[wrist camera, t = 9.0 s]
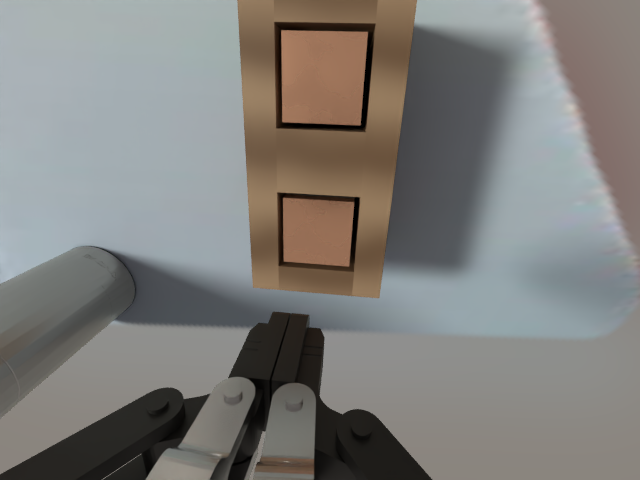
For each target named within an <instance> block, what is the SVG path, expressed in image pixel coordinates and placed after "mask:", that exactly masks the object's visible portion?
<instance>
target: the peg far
mask: <svg viewBox="0 0 640 480" xmlns="http://www.w3.org/2000/svg"><path fill="white" fill-rule="evenodd" d="M353 212H354V197H349V196H332V195H315V194H299V193H287V194H286V195H285V196H284V197H283V242H284V262H297V263H310V264H323V265H336V266H349V262H350V249H351V237H352V224H353Z"/></svg>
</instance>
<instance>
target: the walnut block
mask: <svg viewBox="0 0 640 480" xmlns="http://www.w3.org/2000/svg"><path fill="white" fill-rule="evenodd" d="M237 1H238V19H239V37H240V56H241V74H242V93H243V111H244V130H245V148H246V166H247V185H248V203H249V222H250V240H251V259H252V277H253V288H265V289H277V290H288V291H300V292H312V293H324V294H336V295H347V296H359V297H371V298H379V296H380V288H381V280H382V272H383V264H384V256H385V248H386V240H387V232H388V225H389V217H390V209H391V201H392V193H393V185H394V177H395V169H396V161H397V154H398V146H399V138H400V130H401V122H402V114H403V106H404V98H405V90H406V83H407V75H408V67H409V59H410V51H411V43H412V35H413V27H414V19H415V12H416V4H417V0H237ZM281 30H291V31H345V32H368V38H367V50H366V51H369V55H368V67H367V80H366V92H365V104H364V116H363V126H350V125H326V124H302V123H291V122H282V43H281ZM287 193H299V194H315V195H332V196H349V197H357V201H356V213H355V225H354V230H352V237H351V249H350V262H349V266H336V265H323V264H310V263H297V262H284V242H283V197H284V196H285V195H286V194H287Z"/></svg>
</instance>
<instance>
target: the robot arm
mask: <svg viewBox="0 0 640 480" xmlns="http://www.w3.org/2000/svg"><path fill="white" fill-rule="evenodd" d="M134 297H135V286H134V282H133V279H132V276H131V275H130V273H129V271H128V270H127V268H126V267H125V266H124V265H123V264H122V262H120V261H119V260H118V259H117V258H116V257H115V256H113V255H111V254H110V253H108V252H106V251H104V250H101V249H99V248H95V247H90V246H81V247H76V248H74V249H72V250H70V251H68V252H66V253H63V254H61V255H59V256H57V257H55V258H53V259H51V260H49V261H47V262H45V263H42V264H40V265H38V266H36V267H34V268H32V269H30V270H28V271H26V272H24V273H22V274H20V275H18V276H16V277H14V278H12V279H10V280H8V281H6V282H4V283H1V284H0V419H1V418H2V417H3V416H4V415H5V414H6V413H8V412H9V411H10V410H11V409H12V408H13V407H14V406H15V405H17V404H18V403H19V402H20V401H21V400H22V399H23V398H25V397H26V396H27V395H28V394H29V393H30V392H31V391H33V389H35V388H36V387H37V386H38V385H39V384H41V383H42V382H43V381H44V380H45V379H46V378H48V377H49V376H50V375H51V374H52V373H53V372H54V371H56V370H57V369H58V368H59V367H60V366H61V365H63V364H64V363H65V362H66V361H67V360H68V359H69V358H70V357H72V356H73V355H74V354H75V353H76V352H77V351H78V350H80V349H81V348H82V347H83V346H84V345H86V343H88V342H89V341H90V340H91V339H92V338H93V337H95V336H96V335H97V334H98V333H99V332H101V331H102V330H103V329H104V328H105V327H107V326H108V325H109V324H110V323H111V322H112V321H113V320H115V319H116V318H117V317H118V316H119V315H120V314H121V313H123V312H124V311H125V310H126V309H127V308H128V307H129V306H130V305H131V304H132V302H133V300H134ZM323 352H324V336H323V333H322V331H321V329H319V328H309V315H304V314H293V313H292V314H291V313H282V312H273V313H272V315H271V318H270V320H269V323H268V324H265V323H258V324H257V325H256V326H255V327H254V328H253V329H251V330H250V332H249V335H248V336H247V339H246V342H245V343H244V345H243V347H242V350H241V351H240V354H239V356H238V358H237V360H236V362H235V364H234V366H233V369H232V371H231V373H230V375H229V377H228V379H225V380H223V381H222V382H220V383H219V384H218V385H216V387H215V388H214V389H213V391H212V392H211V393H210V394H208V395H205V396H200V397H195V398H189V399H183V396H182V393H181V392H179V391H178V390H177V389H174V388H161V389H157V390H154V391H152V392H150V393H148V394H146V395H145V396H143V397H141V398H139V399H137V400H135V401H133V402H132V403H130V404H128V405H126V406H124V407H122V408H121V409H119V410H117V411H115V412H113V413H111V414H110V415H108V416H106V417H104V418H102V419H101V420H99V421H97V422H95V423H93V424H91V425H90V426H88V427H86V428H84V429H82V430H80V431H79V432H77V433H75V434H73V435H71V436H70V437H68V438H66V439H64V440H62V441H60V442H59V443H57V444H55V445H53V446H51V447H49V448H48V449H46V450H44V451H42V452H40V453H38V454H37V455H35V456H33V457H31V458H30V459H28V460H26V461H24V462H22V463H20V464H19V465H17V466H15V467H13V468H11V469H9V470H7V471H6V472H4V473H2V474H0V480H102V479H103V478H105V477H106V476H108V475H109V474H111V473H112V472H114V471H115V470H117V469H118V468H120V467H121V466H123V465H124V464H126V463H127V462H129V461H130V460H132V459H133V458H135V457H136V456H138V455H139V454H141V455H139V456H138V457H136V458H135V459H134V460H132V461H131V462H129V463H127V464H126V465H124V466H123V467H121V468H120V469H119V470H117V471H115V472H114V473H112V474H111V475H109V476H108V477H106V478H105V479H103V480H249V477H250V475H251V472H252V469H253V466H254V463H255V460H256V458H257V454H258V444H259V441H260V438H261V434H262V431H266V433H265V438H264V443H263V449H262V455H261V459H260V462H258V463H257V464H256V468H255V472H254V476H253V480H432V479H431V478H430V477H429V476H428V474H427V473H426V472H425V471H424V470H423V469H422V468H421V466H420V465H419V464H418V463H417V462H416V461H415V460H414V458H413V457H411V455H410V454H409V453H408V452H407V451H406V450H405V448H404V447H403V446H402V445H401V444H400V443H399V442H398V441H397V439H396V438H395V437H394V436H393V435H392V434H391V433H390V431H389V430H388V429H387V428H386V427H385V426H384V425H383V423H382V422H381V421H380V420H379V419H378V418H377V417H376V416H375V415H373V414H371V413H370V412H368V411H365V410H359V409H355V410H350V411H348V412H346V413H344V414H343V415H342V414H340V413H338V412H336V411H334V410H332V409H330V408H329V407H327V406H326V405H325V404H324V403H323V401H322V400H321V398H320V396H319V395H320V386H321V377H322V368H323Z"/></svg>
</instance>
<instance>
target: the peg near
mask: <svg viewBox="0 0 640 480" xmlns="http://www.w3.org/2000/svg"><path fill="white" fill-rule="evenodd" d="M367 38H368V32H345V31H291V30H281V43H282V122H291V123H315V124H338V125H361V113H362V100H363V88H364V75H365V63H366V50H367Z"/></svg>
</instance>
